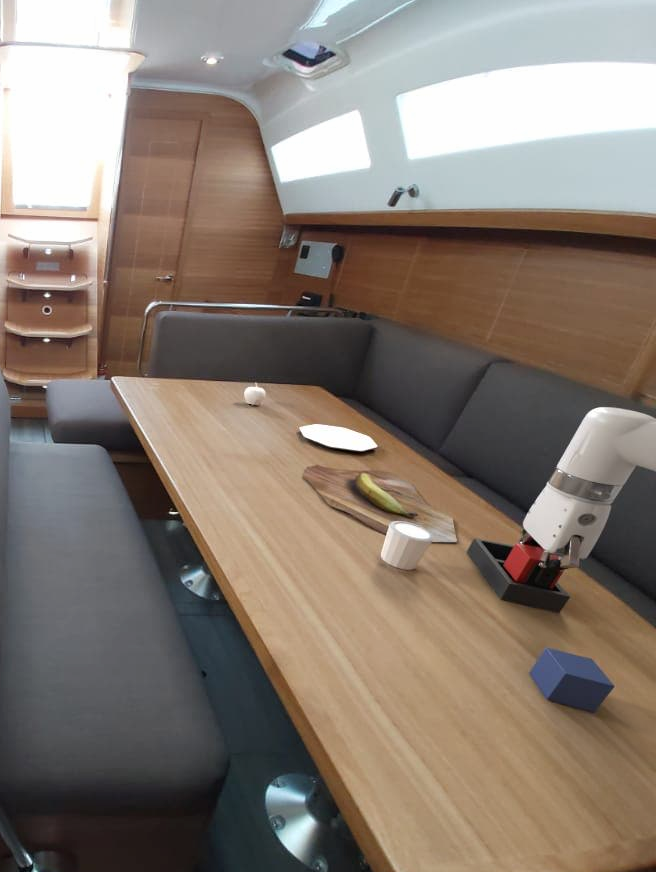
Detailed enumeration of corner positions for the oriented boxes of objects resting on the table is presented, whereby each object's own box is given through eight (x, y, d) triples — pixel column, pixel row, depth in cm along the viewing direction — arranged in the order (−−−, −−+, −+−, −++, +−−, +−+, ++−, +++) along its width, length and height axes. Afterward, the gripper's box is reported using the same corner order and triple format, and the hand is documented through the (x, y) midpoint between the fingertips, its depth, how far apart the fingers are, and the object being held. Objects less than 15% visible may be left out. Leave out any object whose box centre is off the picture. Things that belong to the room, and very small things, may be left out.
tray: (516, 562, 97) (525, 547, 95) (559, 613, 84) (570, 596, 82) (466, 552, 100) (474, 537, 98) (500, 599, 87) (509, 583, 85)
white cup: (425, 575, 92) (440, 544, 89) (383, 566, 94) (396, 536, 91) (412, 554, 98) (426, 524, 95) (372, 547, 100) (384, 517, 97)
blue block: (573, 684, 70) (592, 658, 68) (594, 713, 66) (615, 686, 64) (528, 672, 72) (545, 647, 70) (546, 699, 68) (565, 673, 66)
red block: (537, 572, 89) (551, 549, 86) (552, 589, 84) (567, 565, 82) (502, 565, 90) (515, 542, 88) (515, 581, 86) (529, 557, 84)
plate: (382, 458, 141) (384, 454, 140) (306, 447, 146) (307, 443, 145) (362, 434, 158) (364, 430, 157) (294, 425, 163) (296, 421, 162)
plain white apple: (244, 399, 186) (249, 379, 183) (264, 403, 183) (270, 382, 179) (240, 404, 181) (245, 383, 178) (260, 408, 178) (266, 387, 174)
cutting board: (289, 464, 135) (293, 451, 133) (395, 472, 133) (401, 459, 131) (352, 535, 104) (359, 519, 102) (493, 548, 101) (502, 533, 99)
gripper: (651, 515, 71) (583, 613, 79) (582, 468, 85) (530, 555, 93) (583, 504, 73) (524, 600, 81) (527, 460, 88) (481, 545, 96)
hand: (528, 575), depth 87 cm, fingers closed on red block, 5 cm apart
